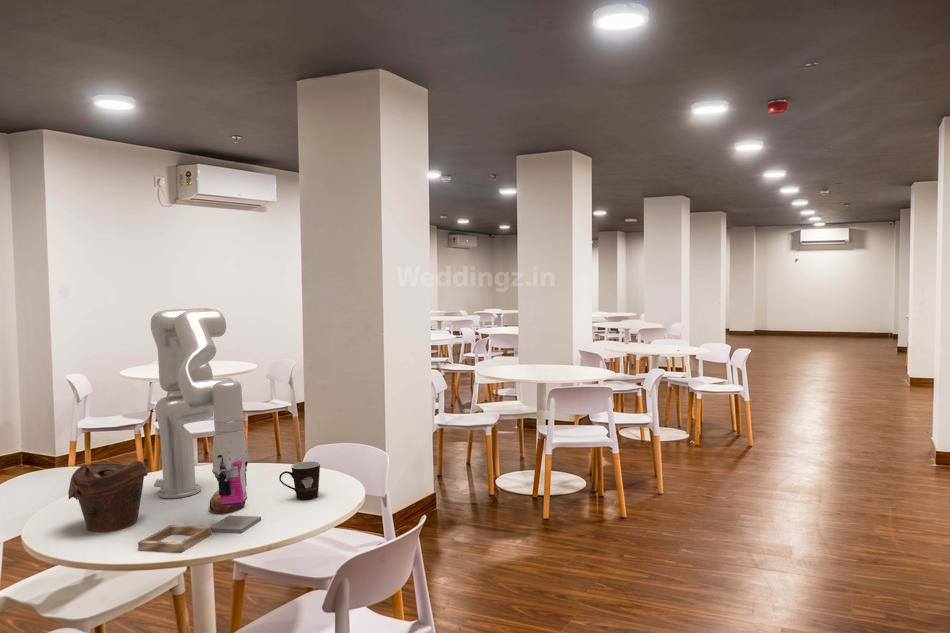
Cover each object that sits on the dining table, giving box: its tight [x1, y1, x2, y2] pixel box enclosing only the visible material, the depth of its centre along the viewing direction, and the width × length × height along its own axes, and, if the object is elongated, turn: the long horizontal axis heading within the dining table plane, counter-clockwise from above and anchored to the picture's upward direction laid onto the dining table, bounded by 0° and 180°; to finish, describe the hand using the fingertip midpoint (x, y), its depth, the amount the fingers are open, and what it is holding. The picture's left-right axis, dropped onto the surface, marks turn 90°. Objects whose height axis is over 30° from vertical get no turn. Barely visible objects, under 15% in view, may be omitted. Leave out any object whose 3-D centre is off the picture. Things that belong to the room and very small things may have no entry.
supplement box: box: [220, 460, 248, 506], centre depth 190 cm, size 6×6×12 cm
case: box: [68, 460, 149, 532], centre depth 195 cm, size 18×20×18 cm
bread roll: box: [208, 489, 246, 515], centre depth 206 cm, size 10×10×8 cm
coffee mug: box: [278, 460, 321, 501], centre depth 214 cm, size 12×9×10 cm
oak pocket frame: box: [137, 524, 212, 553], centre depth 180 cm, size 12×12×2 cm
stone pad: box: [209, 515, 262, 534], centre depth 190 cm, size 10×10×1 cm
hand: (233, 490), depth 190 cm, fingers closed on supplement box, 7 cm apart
